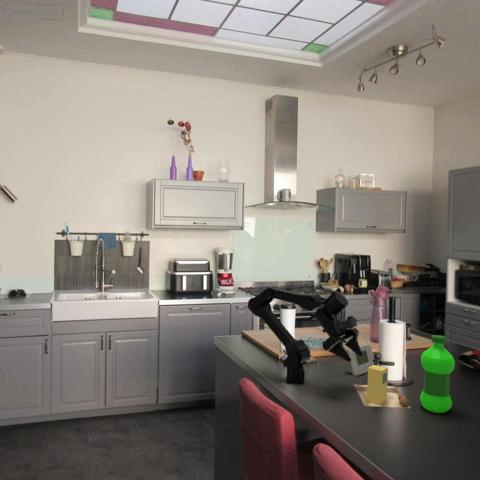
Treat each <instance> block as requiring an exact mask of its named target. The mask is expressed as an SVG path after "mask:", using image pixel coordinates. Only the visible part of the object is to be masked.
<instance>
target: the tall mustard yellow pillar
mask: <svg viewBox="0 0 480 480" xmlns="http://www.w3.org/2000/svg"><path fill="white" fill-rule="evenodd" d="M388 375H389V367H386V366H382V365H377V364H376V365H373V366H371V367H369V368H368V372H367V384H366V385H367V401H368V402H372V403H376V404H379V405H381V404H383V403H384V402H386V401H387V386H388V379H389V377H388Z"/></svg>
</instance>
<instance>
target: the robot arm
mask: <svg viewBox="0 0 480 480" xmlns="http://www.w3.org/2000/svg"><path fill="white" fill-rule="evenodd" d="M274 299H275V300H279V301H282V302H288V303H292V304H295V305H297V306H298V307H300V308H301V309H304V310H305V311H307V312H310V311H314V310H315V311H314V312H310V316H309V321H314V320H316V321H317V323H319V325H320V326H321V328H322V330H321V332H322V333H324V334H325V333H326V334H327V336H328V337H327V339H326V340H323V342H322V346H321V347H322V349H323V350H324V351H325V352H326V351H328V353H332V354H334V355H335V356H338V357H339V358H342V359H343V360H345V361H346V362H347V361H348V362H350V361H351V358H350V356H349V355H348V353H347V349H349V348H350V349H351V350H352V351H354V352H355V353H356V354H357V355H359V356H362V355H363V354H362V351H361V349H360V346H359V345H360V344H359V341H358V338H359V333H360V331H359V330H358V328H356V327H358V319H357V318H356V317H354V315H349V316H347V317H346V320H343V321H341V319H336V317H335V316H338V315H339V314H340V313H341V312H342V311H343V310H344V309H345V308H347V307H348V305H349V302H348V299H347V298H346V297H345V296H344V295H342V294H340V293H339V291H337V290H335V291H333V292H331V294H330V295H329V296H328V297H322V296H321V295H320V294H319V293H312V292H311V293H309V292H308V293H307V292H306V293H303V292H302V293H300V292H296V291H291V290H286V289H283V288H277V287H276V286H270V287H266V288H265V289H264V290H263V291H261V292H260V293H258V294H257V295H255V296H254V297H251V298H250V299H249V300H248V302H247V308H248V311H249V312H250V313H252V314H253V315H254V316H256V317H258V318H260V319H262V321H264V322H265V324H266V325H267V327H268V328H269V329H270V330H271V332H272V333H273V334H274V335H275V337H276V338H277V339H278V340H279V341H280V343H281V344H282V345H283V347H284V350H285V354H286V356H287V357H285V358H284V359H283V360H282V363H283V364H282V365H283V367H285V368H286V371H285V372H286V376H285V382H286V384H292V385H293V384H294V385H296V384H297V385H303V384H304V383H305V380H306V379H305V378H306V377H305V376H306V370H305V368H304V365H306V364H307V362H308V361H309V360H310V358H311V351H310V349H309V348H310V346H308V345H307V344H306V342H305V341H304V340H303V339H302V338H301V339H298V340H297V339H296V338H295V337H294V336H292V334H291V333H290V331H289V330H288V329H287V327H286V326H284V324H283V323H282V322H281V321H280V319H279V318H278V317H277V316H276V314H274V312H273V311H272V305H271V303H272V302H273V300H274ZM321 307H322V308H321ZM334 315H335V316H334ZM344 346H346V347H347V349H346V348H345V347H344Z"/></svg>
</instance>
